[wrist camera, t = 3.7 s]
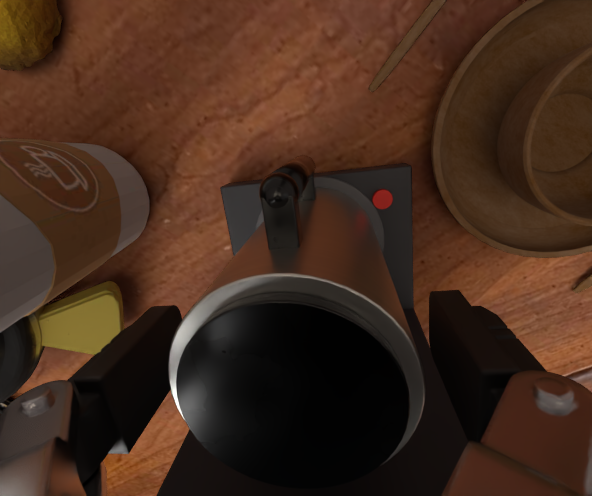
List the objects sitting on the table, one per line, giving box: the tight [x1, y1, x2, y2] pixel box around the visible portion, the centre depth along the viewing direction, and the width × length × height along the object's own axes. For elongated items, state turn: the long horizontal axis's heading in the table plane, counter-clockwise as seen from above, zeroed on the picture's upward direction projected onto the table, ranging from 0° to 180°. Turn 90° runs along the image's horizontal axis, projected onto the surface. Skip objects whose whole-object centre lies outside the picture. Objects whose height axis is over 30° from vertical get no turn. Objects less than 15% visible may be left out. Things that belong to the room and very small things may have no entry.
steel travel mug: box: [168, 155, 426, 489], centre depth 12 cm, size 8×6×11 cm
